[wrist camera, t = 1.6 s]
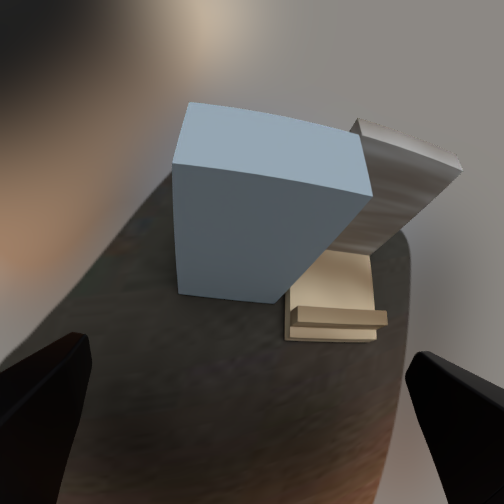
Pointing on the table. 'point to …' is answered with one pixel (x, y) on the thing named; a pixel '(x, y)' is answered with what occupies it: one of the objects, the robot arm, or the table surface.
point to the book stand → (367, 238)
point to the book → (259, 199)
